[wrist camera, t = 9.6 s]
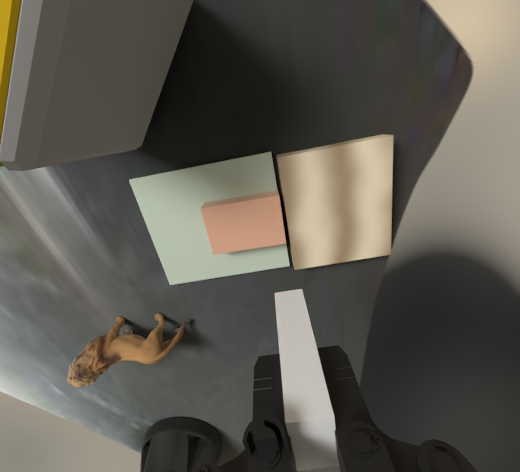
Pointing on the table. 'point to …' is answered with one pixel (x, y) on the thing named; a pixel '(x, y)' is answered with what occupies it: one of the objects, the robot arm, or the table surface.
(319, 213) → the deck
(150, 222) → the mat
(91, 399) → the table surface
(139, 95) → the alarm clock
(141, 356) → the lion figurine
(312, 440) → the robot arm
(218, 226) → the block
